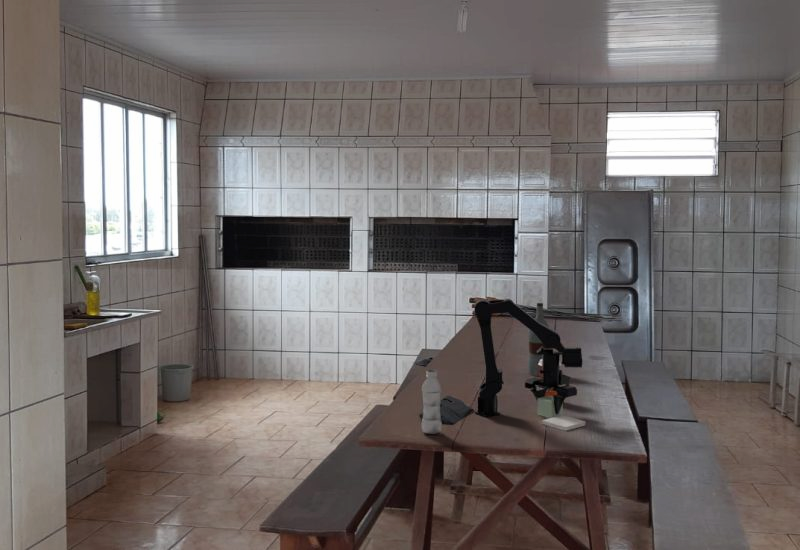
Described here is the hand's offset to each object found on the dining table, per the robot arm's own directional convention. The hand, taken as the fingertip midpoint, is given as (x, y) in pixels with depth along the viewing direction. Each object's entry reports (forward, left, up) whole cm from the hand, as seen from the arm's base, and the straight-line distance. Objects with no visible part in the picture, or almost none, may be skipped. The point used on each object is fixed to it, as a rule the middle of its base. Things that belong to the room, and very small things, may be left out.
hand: (549, 412), depth 278 cm
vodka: (+46, +45, -1) cm, 64 cm away
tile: (-5, -10, -1) cm, 11 cm away
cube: (0, 0, -1) cm, 1 cm away
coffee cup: (+15, +13, -1) cm, 20 cm away
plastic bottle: (-45, +10, -1) cm, 46 cm away
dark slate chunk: (-27, +24, -2) cm, 36 cm away
